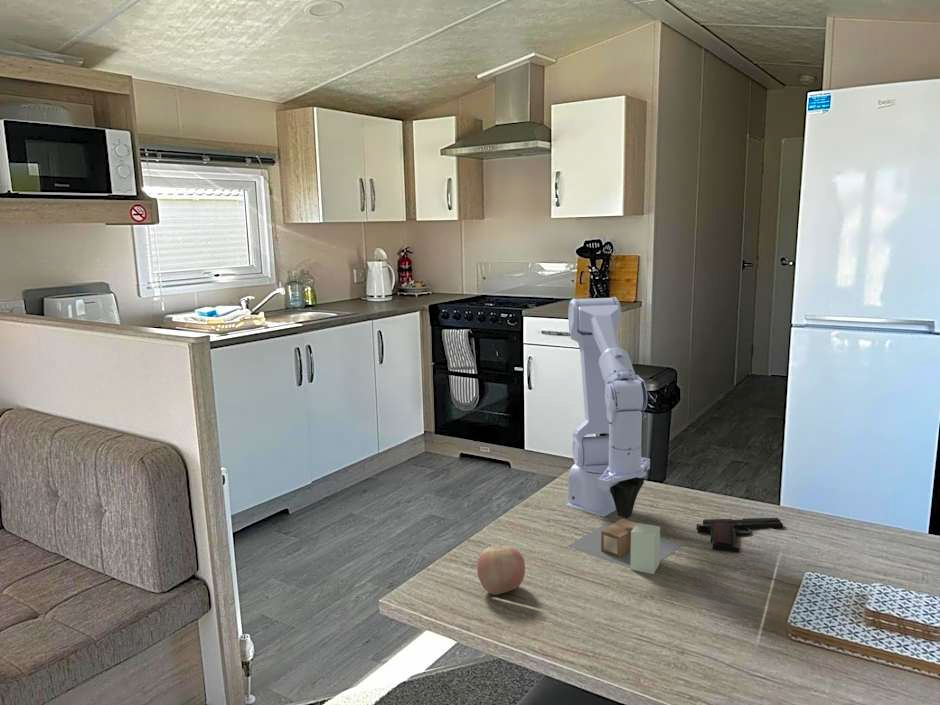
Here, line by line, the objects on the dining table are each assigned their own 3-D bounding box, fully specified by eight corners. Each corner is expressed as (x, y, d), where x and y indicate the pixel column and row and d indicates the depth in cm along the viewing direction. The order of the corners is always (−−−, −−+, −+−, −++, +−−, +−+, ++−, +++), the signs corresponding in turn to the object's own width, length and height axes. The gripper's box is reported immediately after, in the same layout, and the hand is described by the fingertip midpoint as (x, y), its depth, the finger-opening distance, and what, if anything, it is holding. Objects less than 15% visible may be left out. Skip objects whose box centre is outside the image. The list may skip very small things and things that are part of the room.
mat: (567, 547, 134) (567, 545, 134) (609, 523, 144) (609, 521, 144) (644, 575, 123) (644, 572, 123) (683, 546, 133) (683, 544, 133)
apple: (530, 584, 122) (529, 540, 120) (517, 607, 115) (516, 561, 113) (485, 577, 124) (484, 534, 123) (470, 600, 117) (469, 554, 116)
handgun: (809, 544, 130) (776, 514, 142) (717, 546, 129) (691, 516, 140) (807, 555, 131) (775, 525, 142) (715, 558, 129) (690, 527, 141)
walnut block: (621, 538, 136) (601, 551, 131) (622, 518, 136) (601, 531, 131) (640, 544, 134) (620, 558, 129) (640, 524, 133) (620, 537, 128)
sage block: (630, 569, 125) (630, 531, 123) (636, 559, 128) (637, 522, 127) (653, 574, 123) (654, 536, 121) (659, 564, 126) (660, 526, 125)
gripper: (622, 460, 122) (621, 535, 124) (665, 439, 132) (663, 509, 135) (587, 452, 127) (587, 524, 129) (631, 432, 137) (630, 499, 139)
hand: (624, 516), depth 132 cm, fingers closed
